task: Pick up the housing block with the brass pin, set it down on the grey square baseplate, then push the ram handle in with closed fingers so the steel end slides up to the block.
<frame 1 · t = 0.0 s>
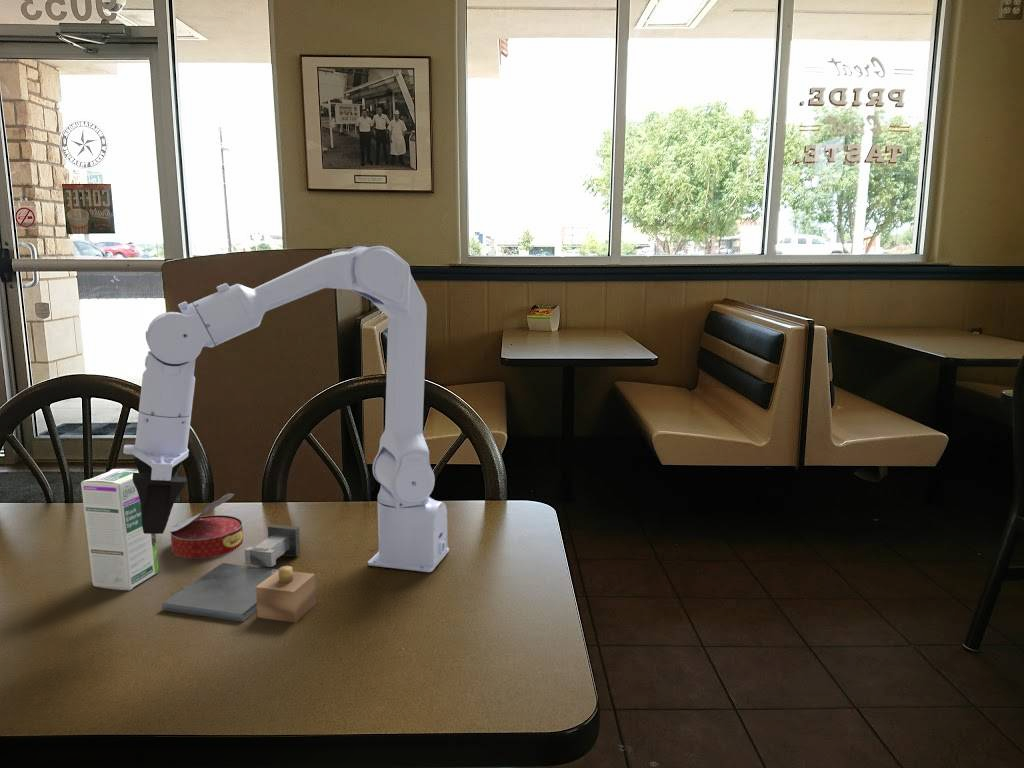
hand: (152, 522, 89), 11 cm above the table, tool pointing down, fingers open, 7 cm apart
housing: (287, 611, 89), on the table
canned food: (207, 547, 109), on the table
grey square baseplate: (232, 593, 93), on the table
ram: (272, 548, 102), point 2 cm above the table, slide at 0.0 cm
syrup box: (125, 581, 97), on the table
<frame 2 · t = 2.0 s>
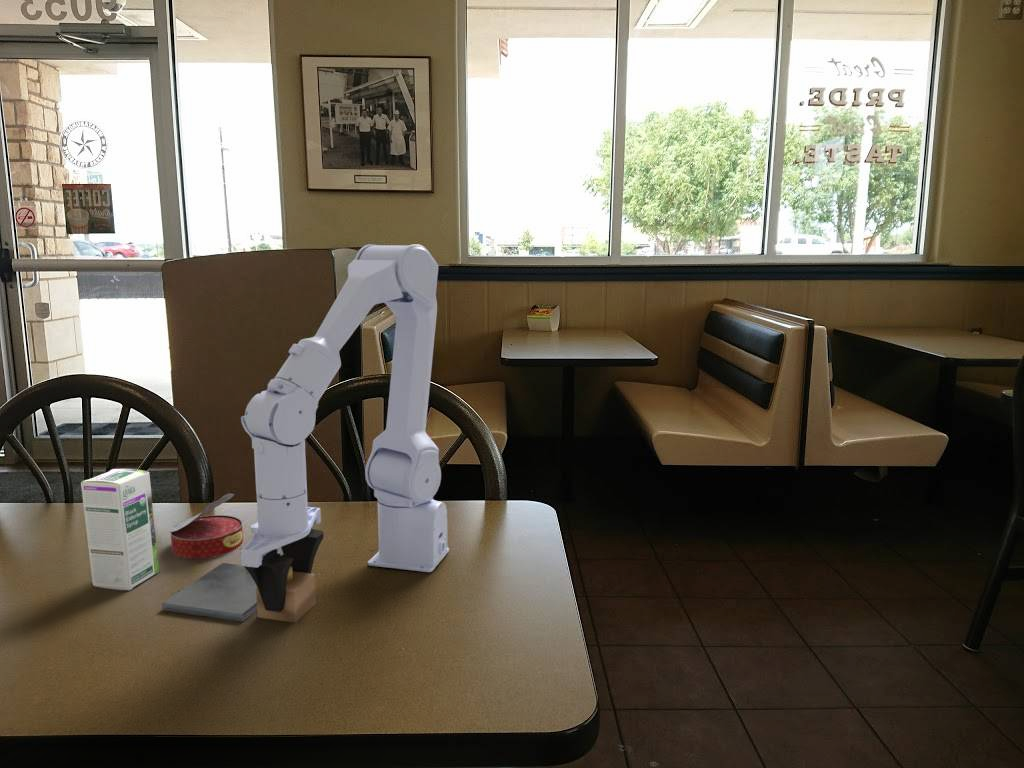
hand: (287, 599, 89), 1 cm above the table, tool pointing down, fingers closed on housing, 5 cm apart
housing: (287, 611, 89), on the table, touching gripper
everything else where it was.
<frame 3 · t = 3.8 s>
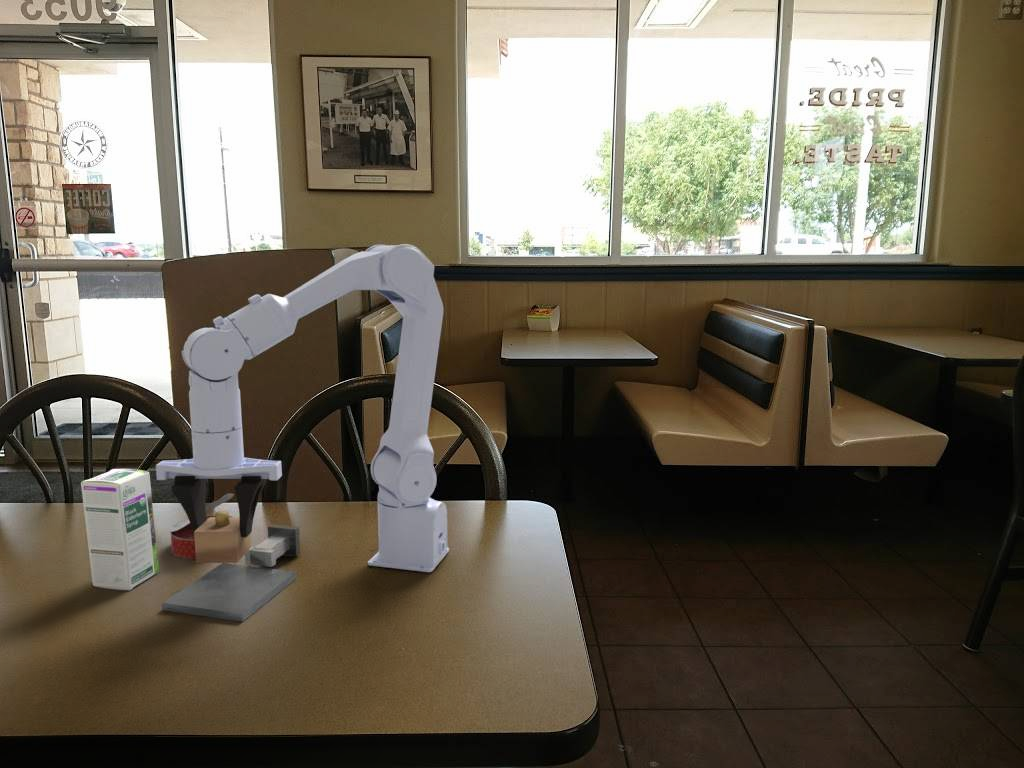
hand: (223, 534, 91), 8 cm above the table, tool pointing down, fingers closed on housing, 5 cm apart
housing: (224, 554, 91), point 6 cm above the table, touching gripper
everything else where it was.
when the fingers open (3 cm above the table, at t = 5.2 s): housing stays where it is, resting on grey square baseplate.
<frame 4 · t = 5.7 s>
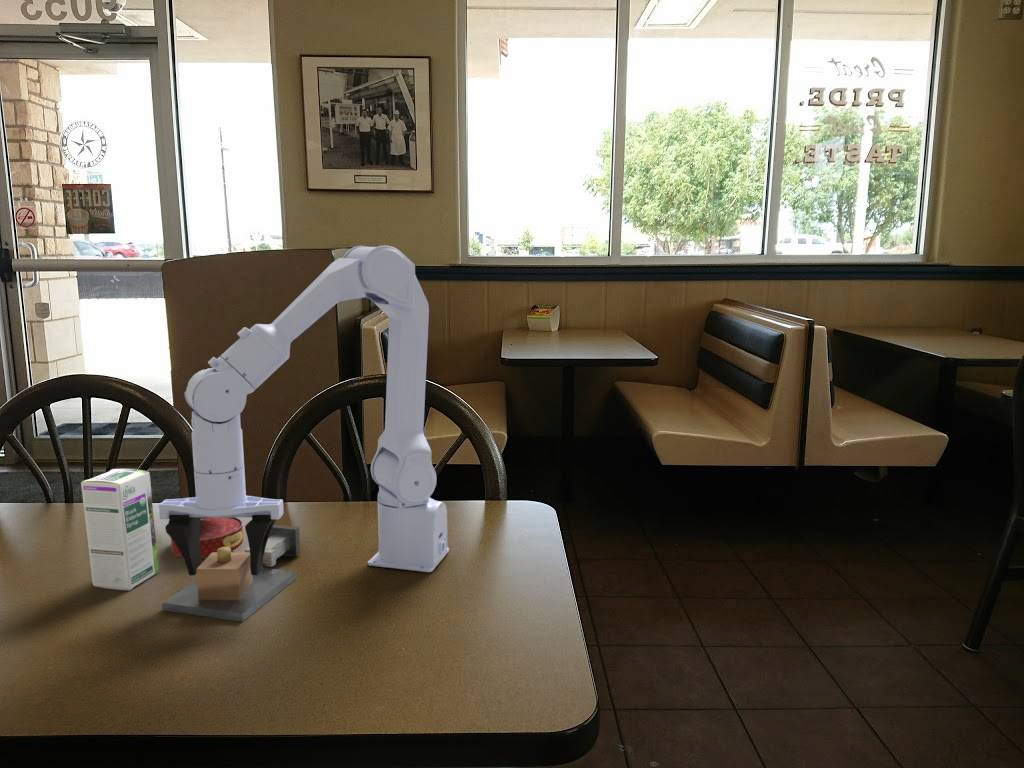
hand: (225, 571, 92), 3 cm above the table, tool pointing down, fingers open, 7 cm apart
housing: (226, 590, 92), point 1 cm above the table, touching grey square baseplate
everything else where it was.
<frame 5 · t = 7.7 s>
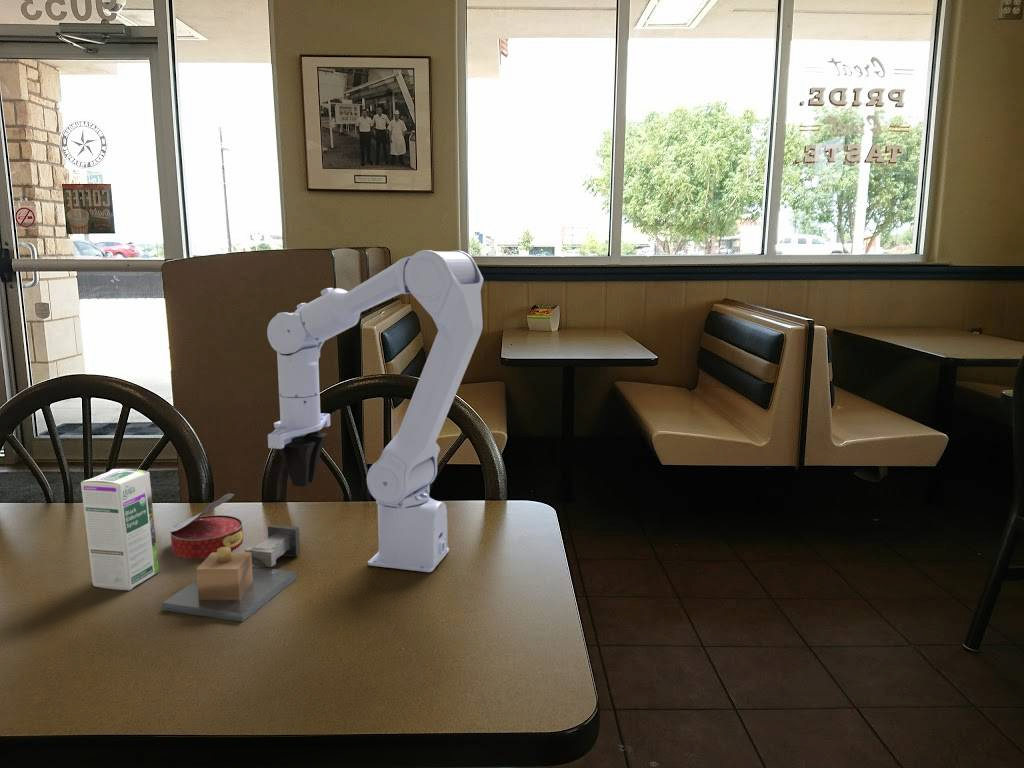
hand: (303, 483, 110), 9 cm above the table, tool pointing down, fingers closed
nothing on the table moved.
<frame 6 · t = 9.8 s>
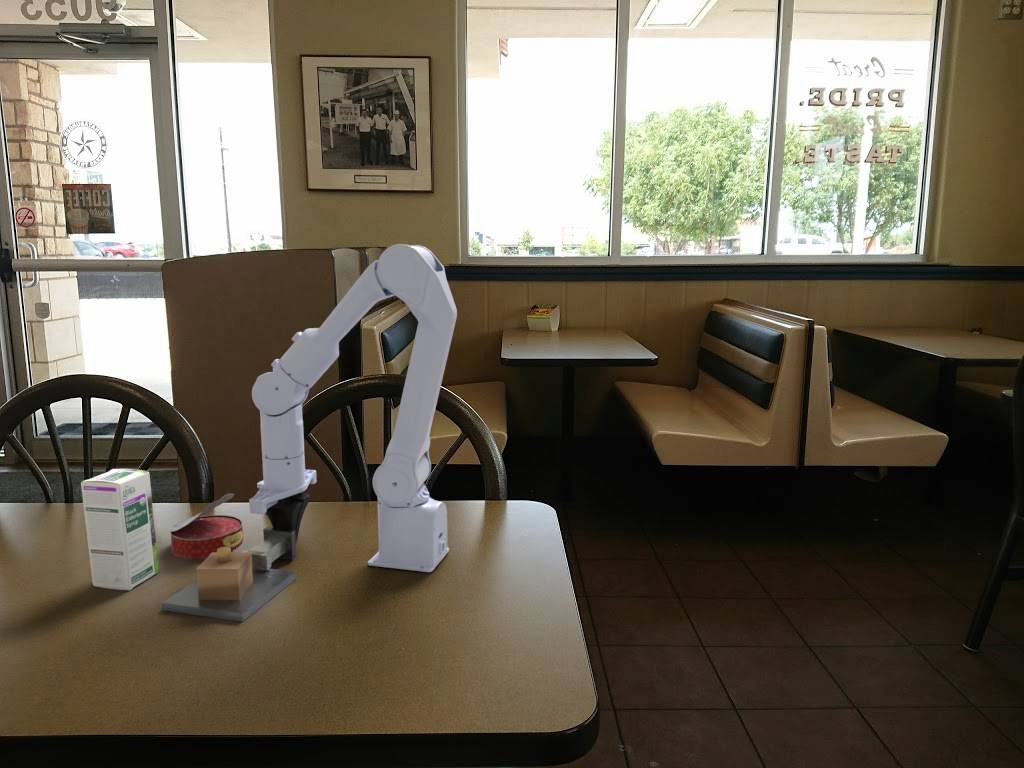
hand: (287, 544, 106), 1 cm above the table, tool pointing down, fingers closed
ram: (268, 551, 101), point 2 cm above the table, slide at 1.1 cm, touching gripper
everything else where it was.
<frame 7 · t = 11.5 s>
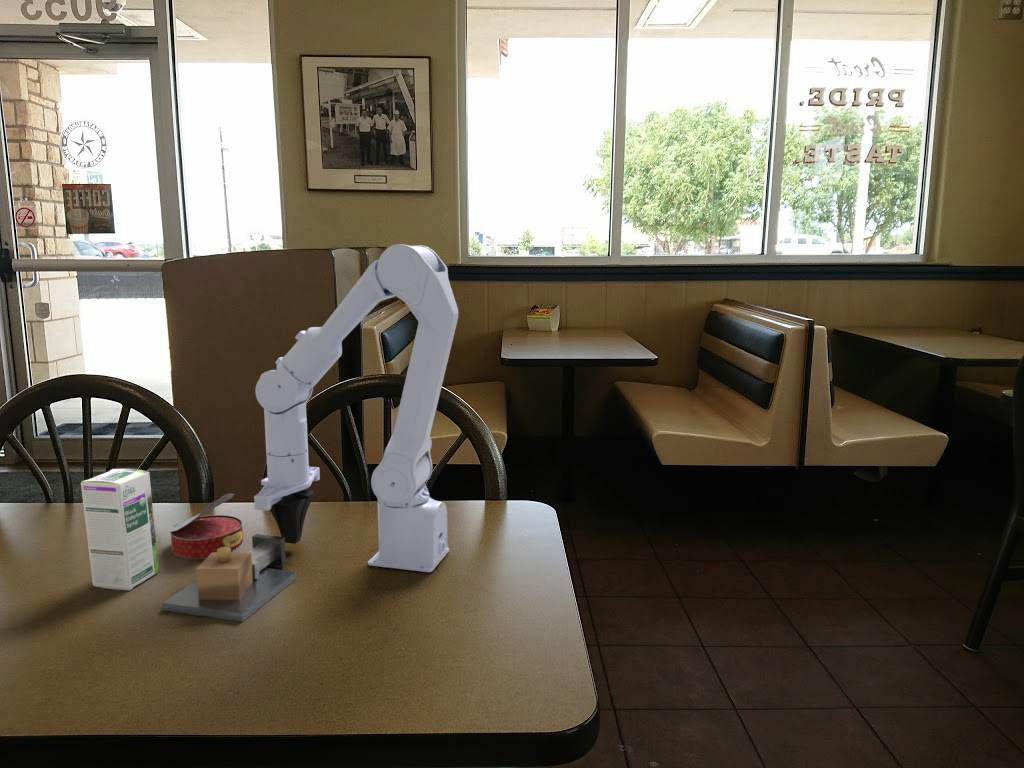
hand: (291, 541, 107), 1 cm above the table, tool pointing down, fingers closed
ram: (256, 559, 98), point 2 cm above the table, slide at 3.8 cm
everything else where it was.
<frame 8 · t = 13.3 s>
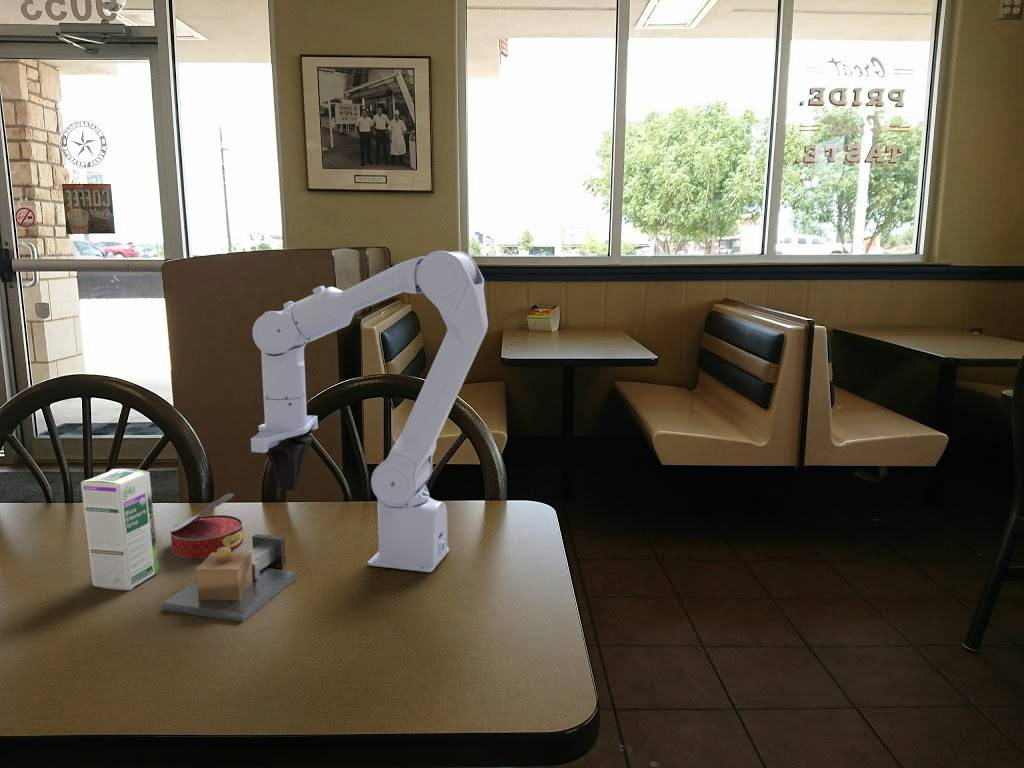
hand: (289, 488, 106), 9 cm above the table, tool pointing down, fingers closed
nothing on the table moved.
at the end: housing inside the target area (0.1 cm from its centre), point 1.0 cm above the table; housing tilted 0°; ram slide at 3.8 cm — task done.
